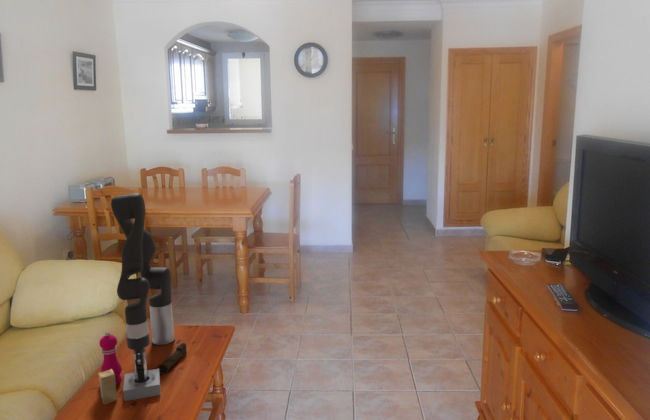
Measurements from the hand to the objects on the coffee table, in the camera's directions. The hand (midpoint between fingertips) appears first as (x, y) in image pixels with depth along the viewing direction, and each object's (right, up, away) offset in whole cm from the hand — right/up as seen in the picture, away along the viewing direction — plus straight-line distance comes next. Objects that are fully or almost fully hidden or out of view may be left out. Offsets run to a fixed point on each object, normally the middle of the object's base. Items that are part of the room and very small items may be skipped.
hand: (141, 377), depth 181 cm
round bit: (0, -3, +1) cm, 3 cm away
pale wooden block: (-9, -6, -5) cm, 12 cm away
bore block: (0, -5, +1) cm, 5 cm away
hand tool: (+5, -1, +21) cm, 22 cm away
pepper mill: (-13, -4, +6) cm, 15 cm away
